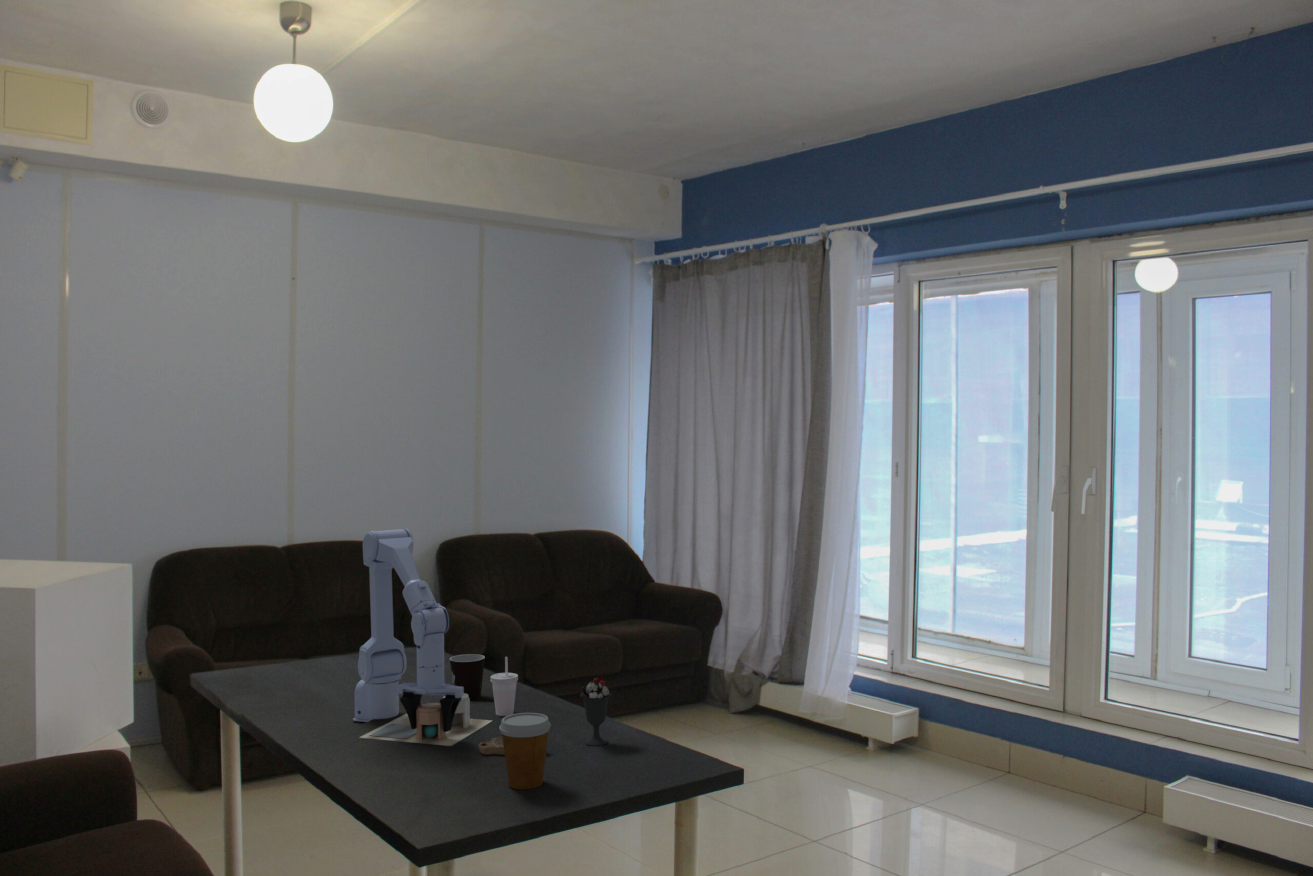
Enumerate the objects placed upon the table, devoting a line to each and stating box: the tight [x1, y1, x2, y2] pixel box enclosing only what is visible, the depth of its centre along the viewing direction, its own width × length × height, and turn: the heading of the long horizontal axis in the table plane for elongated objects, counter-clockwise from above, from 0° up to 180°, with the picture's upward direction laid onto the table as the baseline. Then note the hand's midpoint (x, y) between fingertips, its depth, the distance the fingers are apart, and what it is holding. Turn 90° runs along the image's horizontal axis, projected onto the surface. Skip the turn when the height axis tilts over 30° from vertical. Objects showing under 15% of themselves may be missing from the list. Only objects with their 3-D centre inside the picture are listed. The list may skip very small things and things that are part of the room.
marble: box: [424, 724, 438, 738], centre depth 208 cm, size 3×3×3 cm
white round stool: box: [442, 693, 471, 728], centre depth 216 cm, size 6×6×7 cm
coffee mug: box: [449, 653, 486, 702], centre depth 245 cm, size 12×9×10 cm
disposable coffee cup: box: [498, 712, 552, 790], centre depth 182 cm, size 10×10×12 cm
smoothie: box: [490, 656, 519, 717], centre depth 226 cm, size 6×6×14 cm
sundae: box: [579, 669, 612, 747], centre depth 207 cm, size 7×7×15 cm
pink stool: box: [416, 702, 446, 741], centre depth 208 cm, size 6×6×7 cm
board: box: [358, 713, 493, 747], centre depth 214 cm, size 22×19×1 cm
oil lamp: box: [478, 735, 505, 756], centre depth 199 cm, size 13×8×5 cm, turn 105°
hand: (431, 729), depth 208 cm, fingers open, 7 cm apart
